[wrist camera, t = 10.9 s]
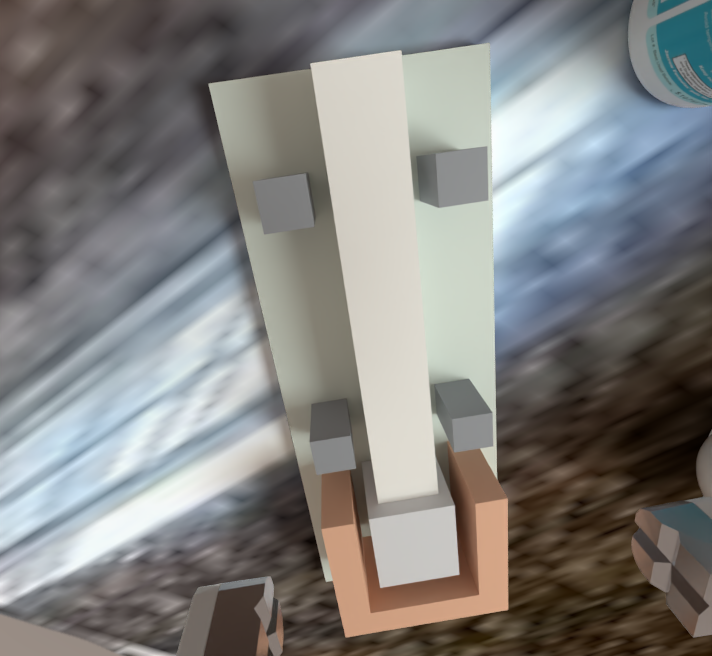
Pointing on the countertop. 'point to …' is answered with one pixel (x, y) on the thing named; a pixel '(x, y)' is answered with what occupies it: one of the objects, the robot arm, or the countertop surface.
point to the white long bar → (386, 312)
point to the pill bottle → (673, 50)
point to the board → (333, 331)
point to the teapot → (705, 467)
